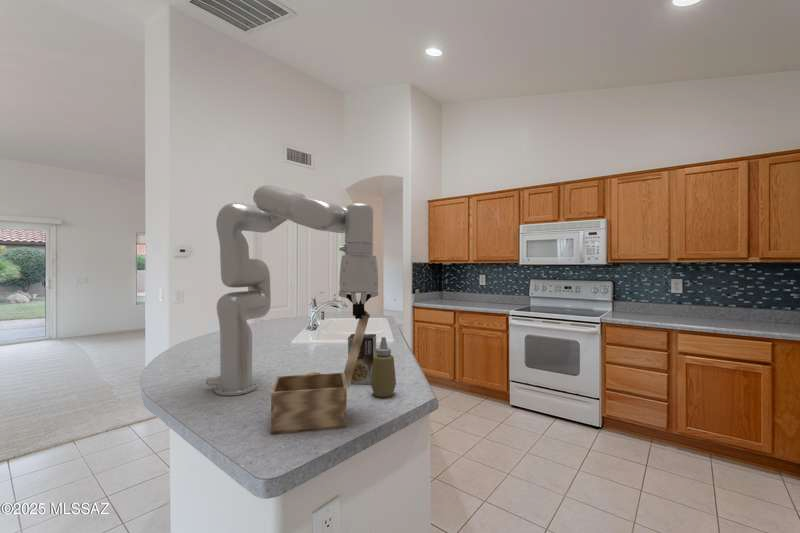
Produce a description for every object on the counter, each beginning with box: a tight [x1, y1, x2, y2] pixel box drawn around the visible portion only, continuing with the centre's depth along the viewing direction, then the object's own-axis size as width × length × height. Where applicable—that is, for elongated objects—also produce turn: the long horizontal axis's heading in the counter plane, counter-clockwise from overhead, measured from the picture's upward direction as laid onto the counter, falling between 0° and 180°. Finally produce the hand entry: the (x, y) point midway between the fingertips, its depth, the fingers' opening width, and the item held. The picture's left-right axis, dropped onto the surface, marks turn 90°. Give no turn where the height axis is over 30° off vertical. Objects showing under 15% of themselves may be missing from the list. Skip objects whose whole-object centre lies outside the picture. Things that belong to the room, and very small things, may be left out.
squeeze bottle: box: [370, 336, 397, 398], centre depth 115 cm, size 8×8×18 cm
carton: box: [270, 372, 348, 435], centre depth 97 cm, size 18×13×10 cm
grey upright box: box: [347, 333, 377, 385], centre depth 128 cm, size 9×6×16 cm
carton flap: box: [343, 308, 371, 389], centre depth 99 cm, size 19×13×1 cm
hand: (358, 318), depth 99 cm, fingers closed
